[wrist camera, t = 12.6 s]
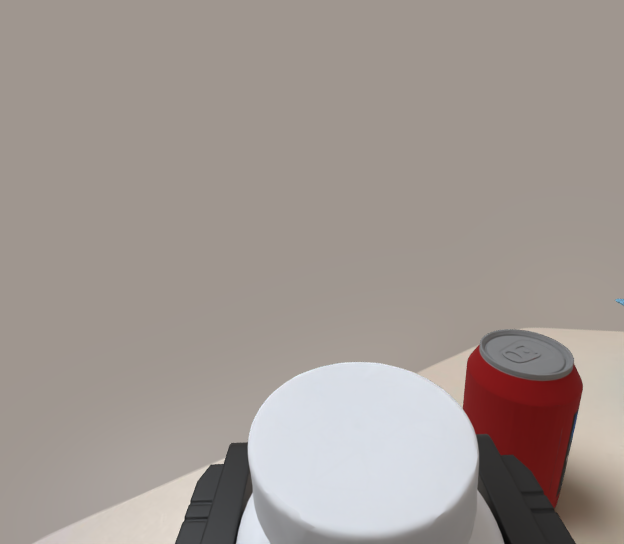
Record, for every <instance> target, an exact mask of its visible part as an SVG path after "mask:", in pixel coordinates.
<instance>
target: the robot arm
mask: <svg viewBox="0 0 624 544" xmlns="http://www.w3.org/2000/svg"><path fill="white" fill-rule="evenodd" d="M476 437H477V442H478V449H479V472H478V487H477V490H478V491H479V493H480V494H481V496H482V497H483V498H484V500H485V502H486V503H487V505H488V507H489V508H490V510H491V512H492V514H493V516H494V518H495V520H496V522H497V524H498V527H499V529H500V532H501V534H502V537H503V541H504V544H576V543H575V542H574V540H573V538H572V537H571V535H570V533H569V532H568V530H567V529H566V527H565V525H564V524H563V522H562V520H561V519H560V517H559V515H558V514H557V513H555V511H554V507H553V506H552V504H551V502H550V501H549V499H548V497H547V496H546V495H544V491H543V489H542V488H541V486H540V484H539V483H538V481H537V479H536V478H535V476H534V475H533V473H532V471H531V470H529V469H528V468H527V467H526V466H525V465H524V464H523V463H522V462H521V461H519V460H518V459H517V458H516V457H515V456H514V455H500V453H499V451H498V449H497V448H496V446H495V444H494V442H493V440H492V439H491V437H490V436H489V435H488V434H476ZM252 493H253V486H252V479H251V473H250V467H249V461H248V442H247V443H231V444H230V446H229V449H228V452H227V455H226V458H225V462H224V464H215V465H210V466H209V468H208V469H207V470H206V471H205V473H204V474H203V475H202V476H201V478H200V479H199V480H198V481H197V484H196V487H195V490H194V493H193V495H192V498H191V503H190V505H189V506H188V509H187V512H186V515H185V520H184V522H183V523H182V526H181V529H180V531H179V534H178V537H177V540H176V543H175V544H236V542H237V536H238V530H239V527H240V523H241V519H242V516H243V514H244V511H245V508H246V506H247V503H248V501H249V499H250V497H251V495H252Z"/></svg>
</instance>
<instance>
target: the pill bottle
mask: <svg viewBox="0 0 624 544" xmlns="http://www.w3.org/2000/svg"><path fill="white" fill-rule="evenodd" d="M248 461H249V467H250V473H251V479H252V486H253V493H252V495H251V497H250V499H249V501H248V503H247V506H246V508H245V511H244V514H243V516H242V519H241V523H240V527H239V530H238V536H237V542H236V544H504V541H503V537H502V534H501V532H500V529H499V527H498V524H497V522H496V520H495V518H494V516H493V514H492V512H491V510H490V508H489V507H488V505H487V503H486V502H485V500H484V498H483V497H482V496H481V494H480V493H479V491H478V490H477V487H478V472H479V449H478V442H477V437H476V434H475V431H474V428H473V426H472V424H471V422H470V420H469V418H468V416H467V415H466V413H465V412H464V410H463V409H462V408H461V406H460V405H459V404H458V403H457V402H456V401H455V399H454V398H453V397H452V396H450V395H449V394H448V393H447V392H446V391H445V390H443V389H442V388H441V387H440V386H438V385H436V384H435V383H433V382H431V381H430V380H428V379H426V378H424V377H422V376H420V375H418V374H416V373H413V372H411V371H408V370H405V369H402V368H398V367H394V366H390V365H386V364H380V363H368V362H348V363H337V364H332V365H327V366H322V367H319V368H316V369H313V370H310V371H307V372H305V373H302V374H300V375H297V376H295V377H294V378H292V379H291V380H289V381H288V382H286V383H285V384H283V385H282V386H280V387H279V388H278V389H277V390H276V391H274V392H273V393H272V394H271V395H270V396H269V397H268V398H267V399H266V401H265V402H264V403H263V405H262V406H261V407H260V409H259V410H258V413H257V415H256V417H255V418H254V420H253V422H252V426H251V429H250V434H249V439H248Z"/></svg>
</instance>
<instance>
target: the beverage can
mask: <svg viewBox="0 0 624 544" xmlns="http://www.w3.org/2000/svg"><path fill="white" fill-rule="evenodd" d="M582 390H583V384H582V380H581V378H580V375H579V373H578V371H577V369H576V367H575V365H574V358H573V355H572V354H571V352H570V351H569V350H568V349H567V348H566V347H565V346H564V345H562V344H561V343H559V342H558V341H556V340H554V339H552V338H549V337H547V336H544V335H541V334H538V333H534V332H530V331H524V330H513V329H512V330H511V329H510V330H508V329H507V330H498V331H494V332H491V333H488V334H487V335H485V336H484V337H483V338H482V339H481V341H480V345H479V346H478V347H477V348H476V349H475V350H474V351H473V352H472V354H471V355H470V357H469V358H468V361H467V370H466V380H465V391H464V402H463V410H464V412H465V413H466V415H467V416H468V418H469V420H470V422H471V424H472V426H473V428H474V431H475V434H488V435H489V436H490V437H491V439H492V440H493V442H494V444H495V446H496V448H497V449H498V451H499V453H500V455H514V456H515V457H516V458H517V459H518V460H519V461H521V462H522V463H523V464H524V465H525V466H526V467H527V468H528V469H529V470H531V471H532V473H533V475H534V476H535V478H536V479H537V481H538V483H539V484H540V486H541V488H542V489H543V491H544V495H546V496H547V497H548V499H549V501H550V502H551V504H552V506H553V507H554V508H555V506H556V505H557V502H558V498H559V494H560V490H561V486H562V482H563V477H564V473H565V469H566V465H567V460H568V456H569V451H570V447H571V442H572V438H573V433H574V429H575V424H576V419H577V414H578V409H579V405H580V400H581V395H582Z"/></svg>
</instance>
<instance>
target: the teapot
mask: <svg viewBox="0 0 624 544" xmlns="http://www.w3.org/2000/svg"><path fill="white" fill-rule="evenodd" d="M616 302H618V303H620V304H621V305H623V306H624V299H616Z"/></svg>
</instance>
